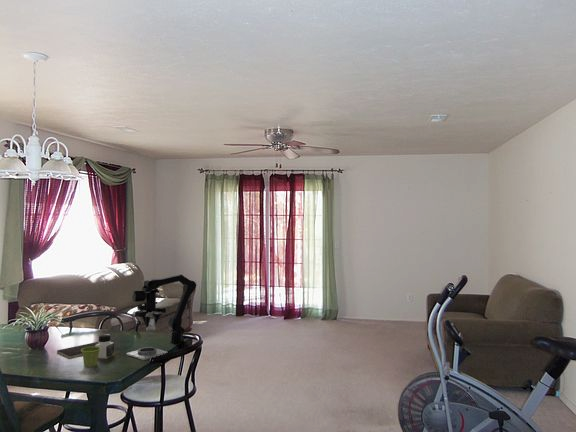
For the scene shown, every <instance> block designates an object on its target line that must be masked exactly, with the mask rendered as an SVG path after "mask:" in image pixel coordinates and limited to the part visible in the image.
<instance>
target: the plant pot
mask: <svg viewBox="0 0 576 432" xmlns="http://www.w3.org/2000/svg"><path fill="white" fill-rule="evenodd" d="M100 349H101V348H100V347H86V348H83V349H81V351H82V354H83V355H82V358H83V359H82V360H83V367H85V368H93V367H95V366H98V360H99V358H98V354H99V351H100Z"/></svg>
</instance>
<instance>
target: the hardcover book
mask: <svg viewBox="0 0 576 432" xmlns="http://www.w3.org/2000/svg"><path fill="white" fill-rule="evenodd" d="M97 344H99V341H98V342H97V341H95V342H90V343H85V344H82V345H81V344H80V345H76V346H70V347H66V348H61V349H57V351H56V353H57V354H59V355H60V356H61V355H62V356H63V355H64V356H63V357H65V356H66V357H65V358H67V359H73V357H74V358H78V357H83V354H82V351H81V349H83V348H86V347H95V345H97Z"/></svg>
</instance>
